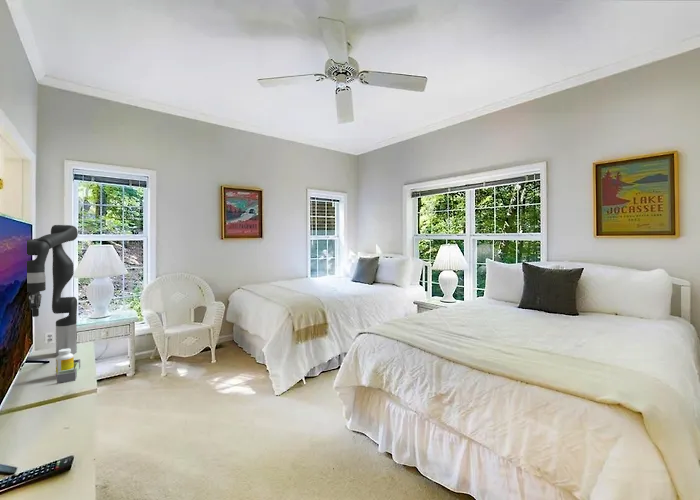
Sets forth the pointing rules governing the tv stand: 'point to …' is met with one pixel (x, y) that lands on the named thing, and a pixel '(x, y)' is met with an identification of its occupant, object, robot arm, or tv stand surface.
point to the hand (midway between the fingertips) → (35, 316)
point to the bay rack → (69, 373)
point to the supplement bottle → (64, 360)
